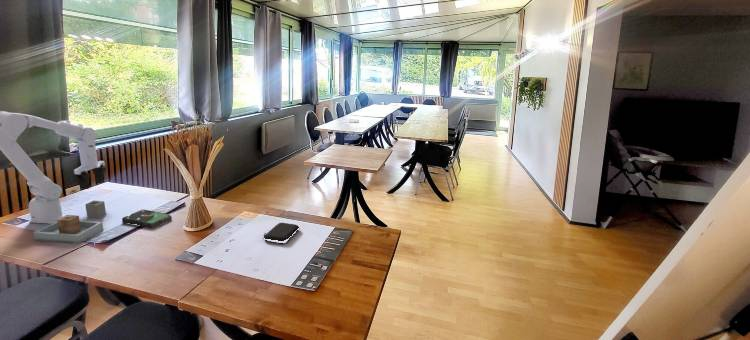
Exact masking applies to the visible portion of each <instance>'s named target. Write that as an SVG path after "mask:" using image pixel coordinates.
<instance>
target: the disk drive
mask: <svg viewBox="0 0 750 340" xmlns="http://www.w3.org/2000/svg"><path fill="white" fill-rule="evenodd" d="M172 219H173V218H172V215H171V214H169V213H165V212H159V211H153V210H148V209H140V210H138V211H136V212H133V213H131V214H130V215H126V216H124V217H122V218H121V222H122V223H123V222H124V223H123V224H125V223H130V224H129V225H131V224H137V225H140V226H139V227H142V228H147V229H155V228H157V227H159V226H161V225H163V224H165V223H167V222H170V221H171V220H172Z"/></svg>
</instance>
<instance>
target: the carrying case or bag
mask: <svg viewBox="0 0 750 340" xmlns="http://www.w3.org/2000/svg"><path fill="white" fill-rule="evenodd" d="M298 228H299V229H300V226H299V225H297V224H293V223H287V222H279V223H277V224H276V225H275V226H274V227H273V228H272V229H270V230H269V231H268V232H267V233H266V232H265V233H264V234H263V236H264V238H265V239H271V240H278V241H284V240H286V239H288V238H289V237H290V236H292V234H293V233H294V232H295V231H296V230H297V229H298ZM265 234H266V235H265ZM264 238H263V239H264Z"/></svg>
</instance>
